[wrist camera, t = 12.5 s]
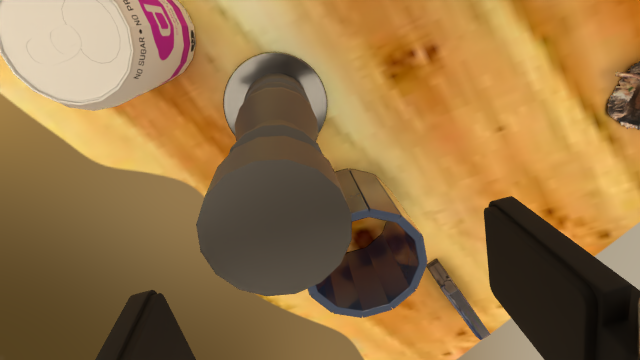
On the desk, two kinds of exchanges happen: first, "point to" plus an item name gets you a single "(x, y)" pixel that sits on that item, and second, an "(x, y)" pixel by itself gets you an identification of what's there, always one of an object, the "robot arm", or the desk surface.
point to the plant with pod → (627, 98)
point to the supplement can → (95, 47)
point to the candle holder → (275, 198)
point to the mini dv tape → (457, 299)
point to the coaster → (273, 65)
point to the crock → (374, 254)
